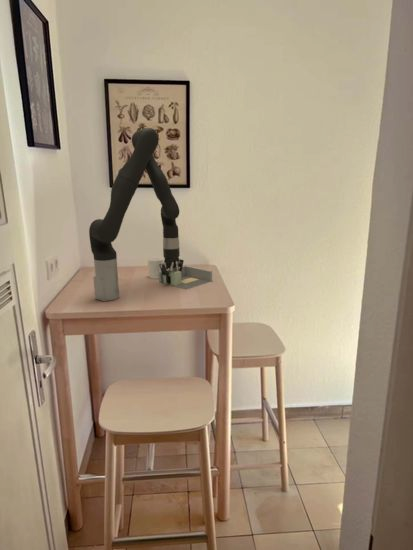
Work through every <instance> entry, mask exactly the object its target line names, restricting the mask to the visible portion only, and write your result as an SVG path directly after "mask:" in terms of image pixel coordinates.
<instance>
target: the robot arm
mask: <svg viewBox="0 0 413 550" xmlns="http://www.w3.org/2000/svg"><path fill="white" fill-rule="evenodd" d="M159 141H160V140H159V134H158V132H157V130H155V128H151V127H144V128H141V129H138V130H137V131H135V132H134V133H133V134H132V137H131V144H132V145H131V146H132V147H133V152H132V153H131V155H130V157H129V159H128V160H127V161H126V162H125V163H124V164H123V166H122V167H121V169H120V170H119V172H118V174H117V175H116V178H115V180H114V182H113V183H112V186H111V191H110V203H109V208H107V209H108V210H107V212H106V213H105V216H104V217H103V218H100V219H99V218H97V219H94V220H93V221H92V222H91V223H90V225H89V230H88V233H89V236H88V237H89V242H90V244H89V245H90V250H91V253H92V255H93V263H94V275H95V276H94V277H93V286H94V287H93V289H94V298H95V300H98V301H102V302H107V301H108V302H109V301H115V300H117V299H119V298H120V286H119V270H118V257H117V256H118V255H117V251H116V250H115V248H114V247H113V244H112V243H113V242H114V241H115V240H116V239H117V237H118V236H119V233H120V230H121V227H122V223H123V221H124V219H125V215H126V213H127V210H128V208H129V206H130V204H131V201H132V199H133V198H134V196H135V193H136V191H137V189H138V186H139V184H140V181H141V179H142V177H143V175H144V172H145V171H146V174H147V176H148V178H149V180H150V183H151V186H152V189H153V191H154V193H155V196H156V199H158V201H159V202H160V204H161V207H160V218H161V223H162V237H163V238H162V252H163V253H162V255H163V263H162V264H159V266H160V269H161V272H162V275H165V276H166V283H167V284H171V272H172V269H173V270H176V271H180V272H181V271H182V267H183V266H184V259H180V258H179V257H180V239H179V236H180V235H179V227H178V224H177V220H176V219H178V218H179V216H180V207H179V205H178V202H177V200H176V198H175V197H174V195H173V193H172V190H171V187H170V184H169V181H168V179H167V177H166V175H165V173H164V171H163V170H162V169H161V167H160V166H159V164H158V162H157V161H156V159H155V156H154V153H155V151H156V149H157V147H158V146H159ZM179 267H180V269H179ZM168 271H169V272H168Z"/></svg>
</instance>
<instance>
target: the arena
mask: <svg viewBox="0 0 413 550" xmlns="http://www.w3.org/2000/svg"><path fill="white" fill-rule="evenodd" d="M179 269H180V267H179ZM172 270H173V269H172ZM211 282H213V270H210V269H204V268H199V267H194V266H189V265H183V267H182V271H181V284H180V285H176V286H174V285H170V284H166V283H164V280H163V275H162V272H159V278H158V283H159V284H162V285H163V284H164V285H167V286H171V287H176V288H178V289H182V290H186V291H187V290H190V289H192V288H195V287H198V286H201V285H205V284H207V283H211Z"/></svg>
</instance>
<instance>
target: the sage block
mask: <svg viewBox="0 0 413 550" xmlns="http://www.w3.org/2000/svg"><path fill="white" fill-rule="evenodd" d="M168 272H169V271H168ZM163 280H164V283H166V276H165V275H163ZM166 284H167V283H166ZM166 284H165V285H166ZM180 284H181V272H180V271H176V270H172V272H171V284H170V285H174V286H176V285H180ZM170 285H169V286H170ZM174 286H173V287H174Z"/></svg>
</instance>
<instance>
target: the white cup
mask: <svg viewBox="0 0 413 550" xmlns="http://www.w3.org/2000/svg"><path fill="white" fill-rule="evenodd" d="M162 263H164V257H150V258H147V268H148V270H147V271H148V275H149V276H148V277H149V278H150V279H153V280H154V279H155V280H156V279H158V280H159V272H161V269H160V266H159V264H162Z"/></svg>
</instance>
